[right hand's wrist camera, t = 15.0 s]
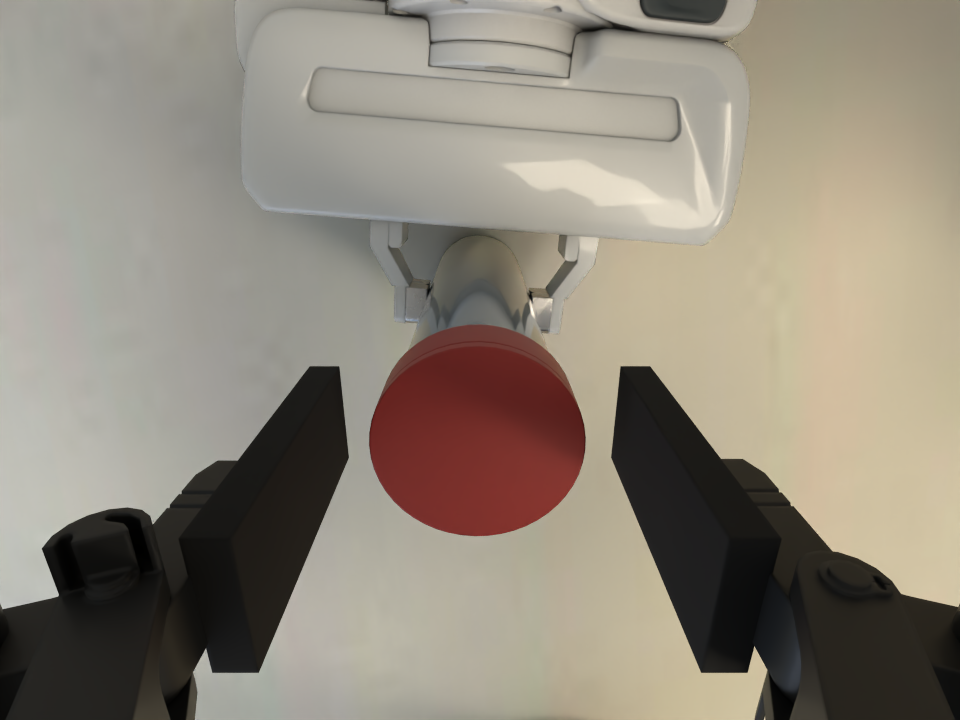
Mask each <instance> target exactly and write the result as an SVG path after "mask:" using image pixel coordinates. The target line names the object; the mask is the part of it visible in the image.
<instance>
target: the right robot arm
mask: <svg viewBox="0 0 960 720" xmlns="http://www.w3.org/2000/svg"><path fill="white" fill-rule="evenodd" d="M348 458H349V455H348V446H347V436H346V426H345V417H344V407H343V398H342V388H341V378H340V369H339V366H310V367H309V368H308V370H307V371H306V372H305V373H304V375H303V376H302V377H301V379H300V380H299V381H298V383H297V384H296V385H295V387H294V388H293V389H292V390H291V392H290V393H289V394H288V396H287V397H286V398H285V400H284V401H283V402H282V404H281V405H280V406H279V407H278V409H277V410H276V411H275V413H274V414H273V415H272V417H271V418H270V419H269V421H268V422H267V423H266V424H265V426H264V427H263V428H262V430H261V431H260V432H259V434H258V435H257V436H256V438H255V439H254V440H253V441H252V443H251V444H250V445H249V447H248V448H247V449H246V451H245V452H244V453H243V455H242V456H241V457H240V458H239V460H238V461H217V462H215V463H213V464H212V465H210V466H209V467H207V468H206V469H204V470H202V471H201V472H199V473H198V474H196V475H195V476H194V477H193V479H192V480H191V481H190V482H189V483H188V484H187V486H186V487H185V488H184V489H183V490H182V494H179V495H178V496H177V497H176V498H175V500H174V501H173V502H172V503H171V504H170V508H167V509H166V510H165V511H164V512H163V514H162V515H161V516H160V517H159V518H158V519H157V521H156V522H155V523H154V524H153V525H152V521H151V517H150V516H149V515H148V514H147V513H145V512H144V511H143V510H139V509H133V508H119V509H109V510H105V511H102V512H98V513H95V514H91V515H88V516H86V517H84V518H82V519H79V520H77V521H75V522H73V523H71V524H69V525H67V526H66V527H64V528H63V529H62V530H60V531H59V532H57V533H56V534H54V535H53V536H52V537H51V538H50V539H49V540H48V542H47V543H46V544H45V545H44V547H43V548H42V550H43V553H44V556H45V558H46V561H47V564H48V566H49V569H50V572H51V574H52V577H53V580H54V582H55V585H56V588H57V590H58V593H59V596H58V597H55V598H52V599H47V600H43V601H38V602H34V603H29V604H25V605H20V606H16V607H11V608H7V609H2V607H1V605H0V720H195V711H196V701H197V688H196V682H195V678H194V674H193V671H194V669H195V667H196V665H197V663H198V662H199V660H200V658H201V656H202V654H203V652H204V651H205V649H207V653H208V657H209V661H210V665H211V669H212V673H259V671H260V668H261V666H262V664H263V661H264V659H265V656H266V654H267V652H268V649H269V647H270V644H271V642H272V640H273V637H274V635H275V633H276V630H277V628H278V625H279V623H280V621H281V618H282V616H283V613H284V611H285V609H286V606H287V604H288V601H289V599H290V597H291V594H292V592H293V590H294V587H295V585H296V582H297V580H298V578H299V575H300V573H301V570H302V568H303V566H304V563H305V561H306V558H307V556H308V554H309V551H310V549H311V546H312V544H313V542H314V539H315V537H316V535H317V532H318V530H319V527H320V525H321V523H322V520H323V518H324V515H325V513H326V511H327V508H328V506H329V503H330V501H331V499H332V496H333V494H334V492H335V489H336V487H337V484H338V482H339V480H340V477H341V475H342V472H343V470H344V468H345V465H346V463H347V460H348ZM611 458H612V460H613V463H614V465H615V468H616V470H617V472H618V475H619V477H620V480H621V482H622V484H623V487H624V489H625V492H626V494H627V496H628V499H629V501H630V503H631V506H632V508H633V511H634V513H635V515H636V518H637V520H638V523H639V525H640V527H641V530H642V532H643V535H644V537H645V539H646V542H647V544H648V546H649V549H650V551H651V554H652V556H653V558H654V561H655V563H656V566H657V568H658V570H659V573H660V575H661V578H662V580H663V582H664V585H665V587H666V590H667V592H668V594H669V597H670V599H671V601H672V604H673V606H674V609H675V611H676V613H677V616H678V618H679V621H680V623H681V625H682V628H683V630H684V633H685V635H686V637H687V640H688V642H689V644H690V647H691V649H692V652H693V654H694V656H695V659H696V661H697V664H698V666H699V668H700V671H701V673H748V669H749V665H750V661H751V657H752V653H753V649H754V646H755V648H756V650H757V651H758V653H759V655H760V657H761V659H762V661H763V662H764V664H765V666H766V668H767V674H766V678H765V681H764V685H763V689H762V692H761V696H760V700H759V703H758V707H757V710H756V715H755V720H764V717H765V719H766V720H960V605H959V607H955V606H950V605H946V604H941V603H937V602H932V601H928V600H923V599H919V598H914V597H910V596H906V595H903V594H901V593H900V592H899V591H898V589H897V588H896V586H895V585H894V583H893V582H892V581H891V580H890V579H889V578H888V577H886V576H885V575H884V574H883V573H881V572H880V571H879V570H878V569H876V568H875V567H873V566H871V565H869V564H867V563H865V562H863V561H861V560H859V559H857V558H854V557H851V556H848V555H845V554H842V553H839V552H832V550H831V549H830V548H829V547H828V546H827V545H826V543H825V542H824V541H823V540H822V539H821V538H820V536H819V535H818V534H817V533H816V532H815V531H814V530H813V528H812V527H811V526H810V525H809V524H808V523H807V521H806V520H805V519H804V518H803V517H802V516H801V515H800V513H799V512H798V511H797V510H796V509H795V508H794V506H791V505H790V502H789V501H788V499H787V498H786V497H785V496H784V495H783V494H782V493H779V489H778V488H777V487H776V486H775V484H774V483H773V482H772V481H771V480H770V479H769V478H768V476H767V475H766V474H765V473H764V472H762V471H761V470H759V469H758V468H756V467H754V466H753V465H751V464H750V463H748V462H747V461H745V460H743V459H721V458H720V457H719V456H718V455H717V453H716V452H715V451H714V449H713V448H712V447H711V445H710V444H709V443H708V441H707V440H706V439H705V438H704V436H703V435H702V434H701V432H700V431H699V430H698V428H697V427H696V426H695V424H694V423H693V422H692V421H691V419H690V418H689V417H688V415H687V414H686V413H685V411H684V410H683V409H682V407H681V406H680V405H679V404H678V402H677V401H676V400H675V398H674V397H673V396H672V394H671V393H670V392H669V390H668V389H667V388H666V387H665V385H664V384H663V383H662V381H661V380H660V379H659V377H658V376H657V375H656V373H655V372H654V371H653V370H652V368H651V367H650V366H621V369H620V378H619V388H618V398H617V407H616V417H615V426H614V436H613V446H612V455H611Z"/></svg>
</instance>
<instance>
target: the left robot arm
mask: <svg viewBox="0 0 960 720" xmlns="http://www.w3.org/2000/svg"><path fill="white" fill-rule="evenodd" d="M387 2H388V5H387ZM756 4H757V0H235V6H234V17H235V31H236V45H237V52H238V56H239V60H240V63H241V66H242V68H243V70H244V72H245V78H244V88H243V100H242V116H241V175H242V182H243V185H244V187H245V189H246V190H247V191H248V193H249V194H250V195H251V196H252V198H253V199H254V200H255V202H256V203H257V204H258V205H259V206H260V208H261V209H263V210H265V211H269V212H280V213H293V214H305V215H318V216H330V217H343V218H356V219H368V220H370V247H371V249H372V251H373V253H374V255H375V256H376V258H377V260H378V262H379V263H380V265H381V267H382V269H383V271H384V272H385V274H386V276H387V278H388V279H389V281H390V283H391V285H392V286H395V303H394V319H395V322H401V323H418V322H419V319H420V316H421V313H422V310H423V308H424V305H425V302H426V299H427V296H428V294H429V291H430V280H422V279H413V278H414V277H413V275H412V273H411V271H410V269H409V267H408V265H407V263H406V262H405V260H404V258H403V256H402V254H401V252H400V250H399V248H400V247H401V246H402V245H403V244H404V242H405V241H406V240H407V239H408V223H419V224H431V225H444V226H457V227H469V228H482V229H494V230H507V231H520V232H532V233H545V234H557V235H559V243H558V251H559V253H560V254H561V255H562V257H563V258H564V259H565V262H564V263H563V264H562V266H561V267H560V269H559V270H558V271H557V273H556V274H555V276H554V277H553V278H552V280H551V281H550V283H549V284H548V285H547V287H546V289H541V288H529V293H528V294H529V297H530V300H531V303H532V306H533V309H534V311H535V314H536V317H537V320H538V323H539V326H540V329H541V332H542V333H550V334H558V333H559V331H560V327H561V320H562V313H563V305H564V299H568V297H569V296H570V295H571V294H572V292H573V291H574V290H575V289H576V287H577V286H578V285H579V283H580V282H581V281H582V280H583V278H584V277H585V276H586V275H587V273H588V272H589V271H590V270H591V268H592V267H593V266H594V265H595V260H596V253H597V247H598V241H599V238H608V239H620V240H633V241H646V242H658V243H671V244H684V245H697V246H702V245H705V244H707V243H708V242H710V241H711V240H712V239H713V238H714V237H715V236H716V235H717V234H718V233H719V232H720V231H721V230H722V229H723V228H724V227H725V226H726V225H727V224H728V222H729V220H730V218H731V215H732V212H733V209H734V205H735V201H736V196H737V192H738V187H739V182H740V177H741V172H742V166H743V160H744V153H745V146H746V139H747V131H748V122H749V111H750V85H749V79H748V74H747V71H746V68H745V66H744V64H743V62H742V60H741V59H740V57H739V56H738V55H737V54H736V53H735V52H734V51H733V50H732V49H731V48H729V47H728V46H726V45H724V44H723V43H725V42H727V41H729V40H730V39H732V38H734V37H735V36H737V35H738V34H739V33H741V32H742V31H743V30H745V29H746V27H747V26H748V25H749V23H750V21H751V19H752V17H753V14H754V11H755V8H756ZM388 13H389V15H388Z"/></svg>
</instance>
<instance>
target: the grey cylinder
mask: <svg viewBox="0 0 960 720" xmlns="http://www.w3.org/2000/svg"><path fill="white" fill-rule="evenodd" d="M477 324H481V325H493V326H498V327H502V328H507V329H510V330H513V331H515V332H518V333H521V334H523V335H524V336H526V337H528V338H530V339H532V340H533V341H535V342H536V343H538V344H539V345H541V346H542V347H543V348H544V349H545V350H547V347H546V344H545V341H544V338H543V335H542V332H541V329H540V326H539V323H538V320H537V317H536V314H535V311H534V309H533V306H532V303H531V300H530V297H529V294H528V291H527V288H526V285H525V282H524V279H523V276H522V273H521V270H520V268H519V265H518V262H517V260H516V257H515V256H514V254H513V253H512V251H511V250H510V249H509V248H508V247H507V246H506V245H505V244H503V243H502V242H501V241H499V240H497V239H495V238H492V237H488V236H482V235H475V236H469V237H466V238H463V239H461V240H458V241H457V242H455V243H454V244H453V245H451V246H450V247H449V248H448V249H447V251H446V252H445V253H444V255H443V256H442V258H441V260H440V263H439V266H438V269H437V271H436V274H435V277H434V280H433V283H432V285H431V288H430V291H429V294H428V296H427V299H426V302H425V305H424V308H423V310H422V313H421V316H420V319H419V322H418V324H417V327H416V330H415V333H414V335H413V338H412V341H411V344H410V347H409V349H408V350H410V349H411V348H412V347H413V346H414V345H416V344H417V343H418V342H420V341H422V340H423V339H425V338H427V337H428V336H430V335H433V334H435V333H437V332H439V331H442V330H445V329H449V328H452V327H457V326H463V325H477ZM547 351H548V350H547Z"/></svg>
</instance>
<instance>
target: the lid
mask: <svg viewBox="0 0 960 720" xmlns="http://www.w3.org/2000/svg"><path fill="white" fill-rule="evenodd" d="M585 438H586V437H585V429H584V423H583V419H582V416H581V412H580V410H579V407H578V404H577V402H576V399H575V397H574V394H573V391H572V389H571V386H570V384H569V382H568V379H567V377H566V375H565V373H564V371H563V370H562V368H561V367H560V365H559V364H558V362H557V361H556V360H555V359H554V358H553V356H552V355H551V354H550V353H549V352H548V351H547V350H545V349H544V348H543V347H542V346H541V345H539V344H538V343H536V342H535V341H533V340H532V339H530V338H528V337H526V336H524V335H523V334H521V333H518V332H515V331H513V330H510V329H507V328H502V327H498V326H493V325H481V324H477V325H463V326H457V327H452V328H449V329H445V330H442V331H439V332H437V333H435V334H433V335H430V336H428V337H427V338H425V339H423V340H422V341H420V342H418V343H417V344H416V345H414V346H413V347H412V348H411V349H410V350H408V351H407V352H406V353H405V354H404V355H403V357H402V358H401V359H400V360H399V361H398V362H397V364H396V365H395V367H394V368H393V370H392V371H391V373H390V375H389V377H388V379H387V381H386V384H385V386H384V389H383V391H382V394H381V396H380V399H379V401H378V404H377V406H376V409H375V412H374V415H373V418H372V421H371V427H370V433H369V447H370V455H371V460H372V463H373V467H374V470H375V472H376V475H377V477H378V479H379V481H380V483H381V484H382V486H383V488H384V489H385V491H386V492H387V494H388V495H389V496H390V497H391V498H392V500H393V501H394V502H395V503H396V504H397V505H398V506H399V507H400V508H401V509H403V510H404V511H405V512H406V513H408V514H409V515H411V516H412V517H413V518H415V519H417V520H419V521H420V522H422V523H424V524H426V525H428V526H431V527H433V528H435V529H438V530H442V531H445V532H448V533H453V534H459V535H467V536H489V535H496V534H502V533H506V532H510V531H514V530H517V529H519V528H522V527H525V526H527V525H529V524H531V523H533V522H535V521H537V520H538V519H540V518H541V517H543V516H544V515H546V514H547V513H549V512H550V511H551V510H552V509H553V508H555V507H556V506H557V505H558V504H559V503H560V502H561V501H562V499H563V498H564V497H565V496H566V495H567V493H568V492H569V490H570V489H571V488H572V486H573V484H574V482H575V481H576V479H577V477H578V475H579V472H580V469H581V466H582V463H583V459H584V453H585Z"/></svg>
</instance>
